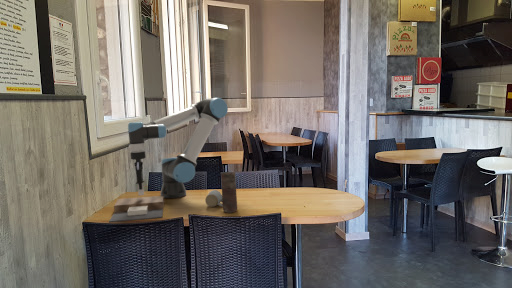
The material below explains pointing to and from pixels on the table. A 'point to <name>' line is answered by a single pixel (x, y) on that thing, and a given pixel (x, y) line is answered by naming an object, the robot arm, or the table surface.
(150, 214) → the mat
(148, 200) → the riser
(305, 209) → the table surface
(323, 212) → the table surface
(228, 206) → the brown rectangular block
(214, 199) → the ceramic mug
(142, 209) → the tile
